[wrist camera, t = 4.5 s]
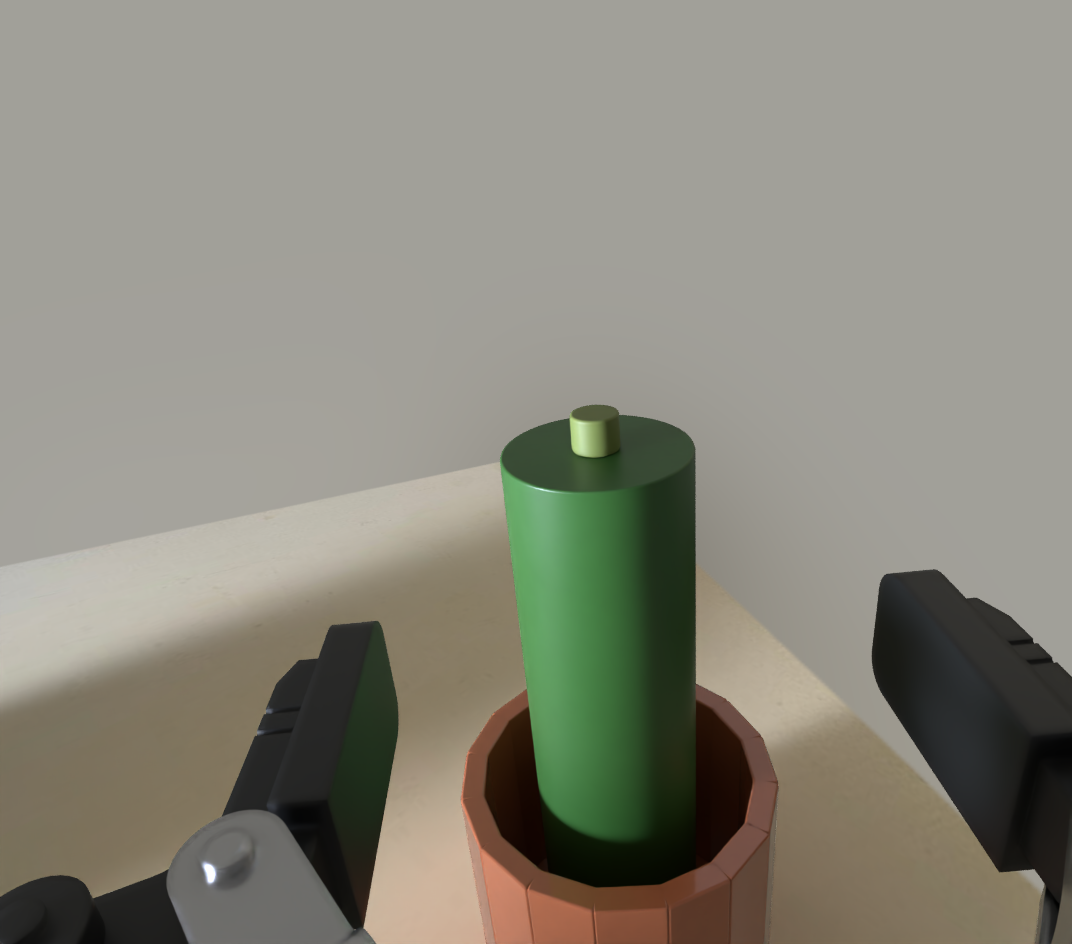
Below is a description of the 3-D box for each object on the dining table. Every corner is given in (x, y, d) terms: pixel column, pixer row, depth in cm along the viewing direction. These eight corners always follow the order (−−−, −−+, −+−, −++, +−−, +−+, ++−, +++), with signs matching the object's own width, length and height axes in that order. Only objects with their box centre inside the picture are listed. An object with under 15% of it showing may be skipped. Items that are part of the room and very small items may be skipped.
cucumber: (709, 888, 23) (713, 385, 16) (677, 1023, 20) (666, 460, 13) (583, 850, 24) (541, 377, 18) (534, 969, 21) (460, 442, 15)
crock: (782, 871, 24) (794, 697, 21) (738, 1158, 18) (746, 964, 15) (552, 806, 27) (535, 646, 24) (444, 1029, 21) (402, 848, 18)
